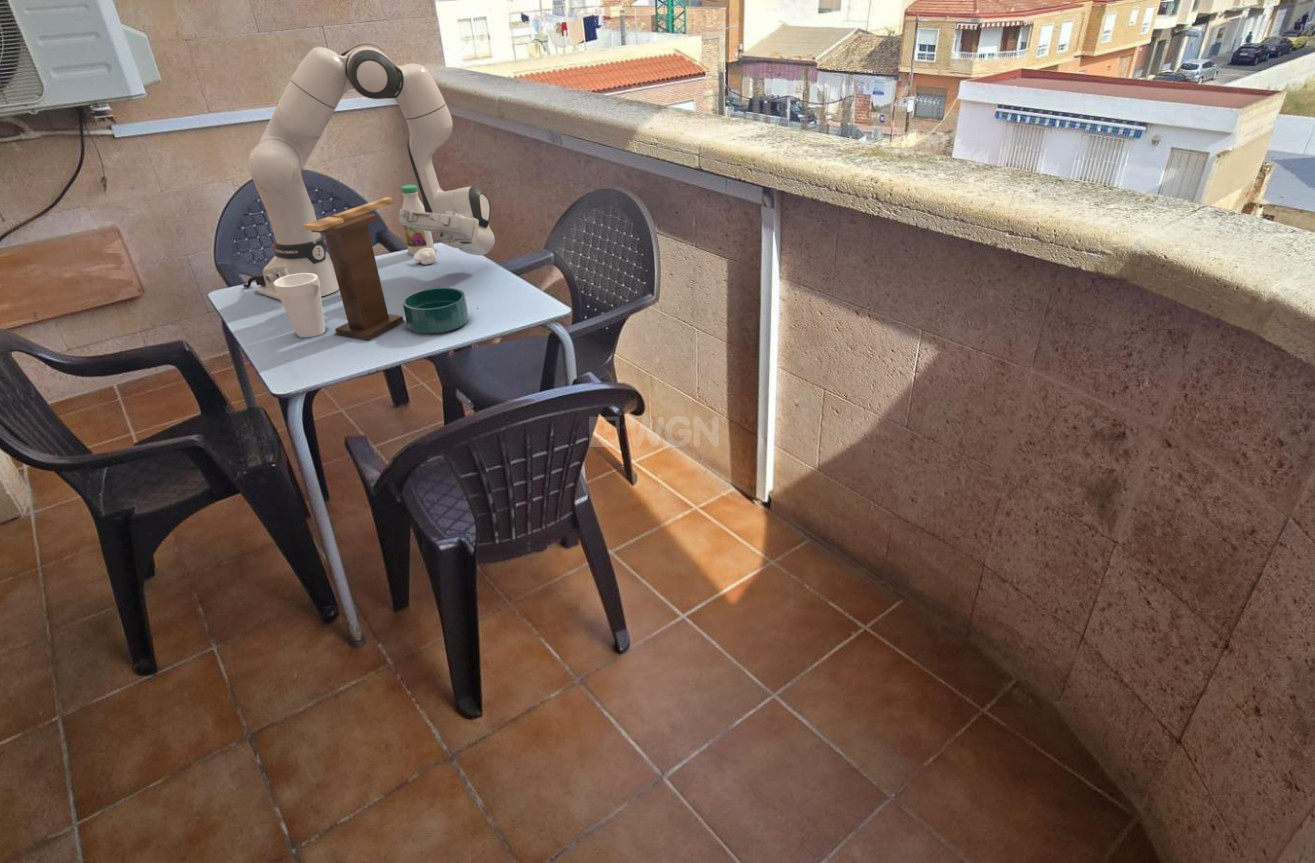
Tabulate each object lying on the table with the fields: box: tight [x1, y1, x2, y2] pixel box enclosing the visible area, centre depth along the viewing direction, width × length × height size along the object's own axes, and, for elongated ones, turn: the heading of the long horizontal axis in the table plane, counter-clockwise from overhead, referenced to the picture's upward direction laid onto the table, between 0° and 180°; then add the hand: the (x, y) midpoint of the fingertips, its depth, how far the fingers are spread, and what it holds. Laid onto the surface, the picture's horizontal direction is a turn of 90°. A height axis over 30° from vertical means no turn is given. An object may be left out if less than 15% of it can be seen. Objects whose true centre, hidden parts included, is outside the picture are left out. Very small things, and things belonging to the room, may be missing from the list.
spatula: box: [304, 196, 394, 231], centre depth 164 cm, size 24×4×1 cm, turn 156°
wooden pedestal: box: [311, 212, 405, 341], centre depth 169 cm, size 10×12×26 cm
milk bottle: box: [400, 184, 435, 256], centre depth 221 cm, size 8×8×20 cm
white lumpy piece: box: [412, 248, 437, 266], centre depth 217 cm, size 7×5×4 cm
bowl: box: [401, 287, 470, 335], centre depth 175 cm, size 14×14×6 cm
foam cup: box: [273, 273, 326, 338], centre depth 171 cm, size 10×9×13 cm
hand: (416, 214), depth 182 cm, fingers open, 8 cm apart
